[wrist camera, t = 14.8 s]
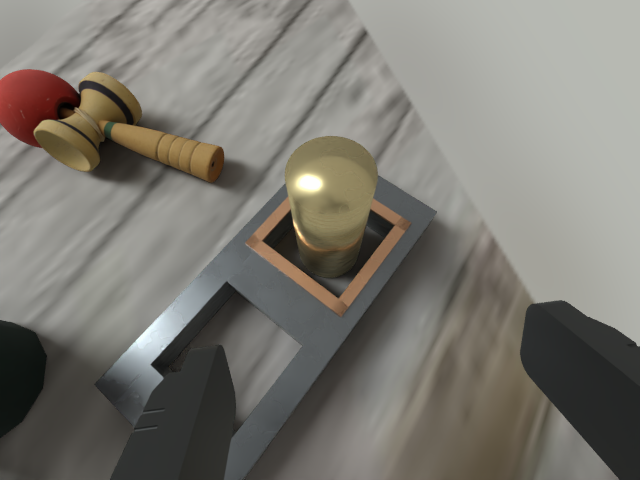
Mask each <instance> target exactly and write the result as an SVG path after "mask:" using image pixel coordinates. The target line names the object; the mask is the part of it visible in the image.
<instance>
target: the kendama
mask: <svg viewBox="0 0 640 480" xmlns="http://www.w3.org/2000/svg"><path fill="white" fill-rule="evenodd" d="M79 92H80V94H78V93H77V91H76V90H75V89H74V88H73V87H72V86H71V85H70V84H68V83H67V82H66V81H64V80H63V79H61V78H60V77H58V76H56V75H53V74H51V73H48V72H45V71H40V70H32V69H27V70H19V71H15V72H12V73H10V74H8V75H6V76H5V77H3V78H2V79H1V80H0V123H1V124H2V126H3V127H4V128H5V129H6V130H7V131H8V132H9V133H10V134H11V135H13V136H14V137H16V138H17V139H19V140H20V141H22V142H24V143H27V144H29V145H32V146H35V147H39V148H43V149H44V150H45V151H47V152H48V153H49V154H50V155H51V156H53V157H54V158H55V159H57V160H58V161H60V162H61V163H63V164H65V165H67V166H69V167H71V168H73V169H76V170H79V171H84V172H90V171H92V170H93V169H94V168H95V167H96V166H97V165H98V164H99V163H100V156H99V144H100V142H104V139H105V137H106V138H108V139H110V140H112V141H114V142H116V143H118V144H120V145H122V146H124V147H126V148H128V149H131V150H133V151H135V152H137V153H139V154H142V155H144V156H146V157H149V158H151V159H154V160H156V161H159V162H162V163H164V164H167V165H169V166H172V167H174V168H177V169H179V170H182V171H184V172H187V173H189V174H192V175H194V176H196V177H199V178H201V179H203V180H206V181H208V182H211V183H212V182H214V181H215V180H216V179H217V178H218V177H219V175H220V173H221V171H222V168H223V164H224V151H223V149H222V147H219V146H216V145H211V144H207V143H201V142H198V141H194V140H190V139H187V138H182V137H179V136H175V135H171V134H167V133H164V132H160V131H156V130H152V129H148V128H144V127H139V126H135V125H136V124H137V122H138V121H139V120H140V118H141V117H142V110H141V107H140V104H139V102H138V101H137V99H136V98H135V97H134V95H133V94H132V93H131V92H130V91H129V90H128V89H127V88H126V87H125V86H124V85H123V84H121V83H120V82H119V81H117V80H116V79H114V78H112V77H111V76H109V75H106V74H104V73H100V72H92V73H90V74H88V75H87V76H86V77H85V78H83V79H82V80H81V81H80V83H79Z"/></svg>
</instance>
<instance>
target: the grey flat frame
mask: <svg viewBox="0 0 640 480" xmlns="http://www.w3.org/2000/svg"><path fill="white" fill-rule="evenodd" d="M436 213H437V211H435V210H433V209H432V208H430V207H429V206H427V205H425V204H424V203H422V202H420V201H419V200H417V199H416V198H414V197H412V196H411V195H409V194H408V193H406V192H404V191H403V190H401V189H399V188H398V187H396V186H395V185H393V184H391V183H390V182H388V181H387V180H385V179H383V178H382V177H380V176H378V180H377V185H376V189H375V193H374V196H373V200H372V204H371V208H370V212H369V216H368V220H367V224H366V225H367V226H368V227H370V228H371V229H373V230H374V231H376V232H377V233H379V234H380V235H381V236H383V237H384V238H385V239H384V240H383V242H382V243H381V244H380V245H379V247H378V248H377V249H376V251H375V252H374V253H373V255H372V256H371V257H370V259H369V260H368V261H367V262H366V264H365V265H364V266H363V268H362V269H361V270H360V272H359V273H358V274H357V275H356V277H355V278H354V279H353V281H352V282H351V283H350V285H349V286H348V287H347V288H346V290H345V291H344V292H343V294H342V295H341V296H340V298H339V299H338V298H337V297H335V296H334V295H333V294H331V293H330V292H329V291H328V290H326V289H325V288H324V287H322V286H321V285H320V284H318V283H317V282H316V281H314V280H313V279H312V278H310V277H309V276H308V275H306V274H305V273H304V272H302V271H301V270H300V269H298V268H297V267H296V266H294V265H293V264H292V263H290V262H289V261H288V260H286V259H285V258H284V257H282V256H281V255H280V254H279V253H277V252H276V251H275V250H273V248H274V247H275V246H276V245H277V244H278V243H279V242H280V241H281V239H282V238H283V237H284V236H285V235H286V234H287V233H288V232H289V230H290V229H291V228H292V227H293V226H294V223H293V218H292V213H291V208H290V202H289V197H288V192H287V187H286V183H285V184H284V186H283V187H282V188H281V189H280V190H279V191H278V192H277V193H276V194H275V195H274V196H273V197H272V198H271V199H270V200H269V201H268V202H267V203H266V204H265V206H264V207H263V208H262V209H261V210H260V211H259V212H258V213H257V214H256V215H255V216H254V217H253V218H252V219H251V220H250V221H249V222H248V223H247V224H246V226H245V227H244V228H243V229H242V230H241V231H240V232H239V233H238V234H237V235H236V236H235V237H234V238H233V239H232V240H231V241H230V242H229V243H228V244H227V246H226V247H225V248H224V249H223V250H222V251H221V252H220V253H219V254H218V255H217V256H216V257H215V258H214V259H213V260H212V261H211V262H210V263H209V264H208V266H207V267H206V268H205V269H204V270H203V271H202V272H201V273H200V274H199V275H198V276H197V277H196V278H195V279H194V280H193V281H192V282H191V283H190V284H189V286H188V287H187V288H186V289H185V290H184V291H183V292H182V293H181V294H180V295H179V296H178V297H177V298H176V299H175V300H174V301H173V302H172V303H171V304H170V306H169V307H168V308H167V309H166V310H165V311H164V312H163V313H162V314H161V315H160V316H159V317H158V318H157V319H156V320H155V321H154V322H153V323H152V324H151V326H150V327H149V328H148V329H147V330H146V331H145V332H144V333H143V334H142V335H141V336H140V337H139V338H138V339H137V340H136V341H135V342H134V343H133V344H132V346H131V347H130V348H129V349H128V350H127V351H126V352H125V353H124V354H123V355H122V356H121V357H120V358H119V359H118V360H117V361H116V362H115V363H114V364H113V366H112V367H111V368H110V369H109V370H108V371H107V372H106V373H105V374H104V375H103V376H102V377H101V378H100V379H99V380H98V381H97V382H96V383H95V384H94V385H95V386H96V387H97V388H98V389H99V390H100V391H101V392H102V393H103V394H104V395H105V396H106V398H107V399H108V400H109V401H110V402H111V403H112V404H113V405H114V406H115V407H116V408H117V409H118V410H119V411H120V413H121V414H122V415H123V416H124V417H125V418H126V419H127V420H128V421H129V422H130V423H131V424H132V425H133V427H134V428H135V426H136V424H137V422H138V420H139V418H140V415H143V409H144V407H145V405H146V403H147V401H148V399H149V397H150V395H151V393H152V391H153V390H154V389H155V387H156V386H157V385H158V384H159V383H160V382H161V381H162V380H163V379H164V378H165V377H166V376H167V375H168V373H173V371H172V370H171V369H170V368H169V367H168V366H169V365H170V364H171V363H172V362H173V361H174V360H175V358H176V357H177V356H178V355H179V354H180V353H181V352H182V351H183V349H184V348H185V347H186V346H187V345H188V344H189V343H190V342H191V340H192V339H193V338H194V337H195V336H196V335H197V334H198V333H199V331H200V330H201V329H202V328H203V327H204V326H205V325H206V324H207V322H208V321H209V320H210V319H211V318H212V317H213V316H214V315H215V313H216V312H217V311H218V310H219V309H220V308H221V307H222V306H223V305H224V303H225V302H226V301H227V300H228V299H229V298H230V297H231V296H232V294H233V293H234V292H235V291H236V292H238V293H239V294H240V295H241V296H243V297H244V298H245V299H246V300H247V301H249V302H250V303H251V304H252V305H253V306H255V307H256V308H257V309H258V310H260V311H261V312H262V313H263V314H264V315H266V316H267V317H268V318H269V319H270V320H272V321H273V322H274V323H275V324H276V325H278V326H279V327H280V328H281V329H283V330H284V331H285V332H286V333H287V334H289V335H290V336H291V337H292V338H293V339H295V340H296V341H297V342H298V343H299V344H301V345H302V348H301V349H300V350H299V352H298V353H297V354H296V356H295V357H294V358H293V359H292V361H291V362H290V363H289V365H288V366H287V367H286V369H285V370H284V371H283V373H282V374H281V375H280V376H279V378H278V379H277V380H276V382H275V383H274V384H273V386H272V387H271V388H270V389H269V391H268V392H267V393H266V395H265V396H264V397H263V399H262V400H261V401H260V402H259V404H258V405H257V406H256V408H255V409H254V410H253V412H252V413H251V414H250V416H249V417H248V418H247V419H246V421H245V422H244V423H243V425H242V426H241V427H240V429H239V430H238V431H237V432H235V431H234V430H233V431H232V436H231V442H230V448H229V453H228V459H227V465H226V470H225V476H224V480H244V479H245V478H246V476H247V475H248V473H249V472H250V471H251V469H252V468H253V467H254V465H255V464H256V462H257V461H258V460H259V458H260V457H261V455H262V454H263V453H264V451H265V450H266V449H267V447H268V446H269V444H270V443H271V442H272V440H273V439H274V438H275V436H276V435H277V433H278V432H279V431H280V429H281V428H282V427H283V425H284V424H285V422H286V421H287V420H288V418H289V417H290V416H291V414H292V413H293V411H294V410H295V409H296V407H297V406H298V405H299V403H300V402H301V400H302V399H303V398H304V396H305V395H306V394H307V392H308V391H309V389H310V388H311V387H312V385H313V384H314V383H315V381H316V380H317V378H318V377H319V376H320V374H321V373H322V371H323V370H324V369H325V367H326V366H327V365H328V363H329V362H330V360H331V359H332V358H333V356H334V355H335V354H336V352H337V351H338V349H339V348H340V347H341V345H342V344H343V343H344V341H345V340H346V338H347V337H348V336H349V334H350V333H351V332H352V330H353V329H354V327H355V326H356V325H357V323H358V322H359V321H360V319H361V318H362V316H363V315H364V314H365V312H366V311H367V310H368V308H369V307H370V305H371V304H372V303H373V301H374V300H375V299H376V297H377V296H378V294H379V293H380V292H381V290H382V289H383V287H384V286H385V285H386V283H387V282H388V281H389V279H390V278H391V276H392V275H393V274H394V272H395V271H396V270H397V268H398V267H399V265H400V264H401V263H402V261H403V260H404V259H405V257H406V256H407V254H408V253H409V252H410V250H411V249H412V248H413V246H414V245H415V243H416V242H417V241H418V239H419V238H420V237H421V235H422V234H423V232H424V231H425V230H426V228H427V227H428V225H429V224H430V222H431V221H432V219H433V218H434V216H435V215H436Z"/></svg>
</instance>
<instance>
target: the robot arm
mask: <svg viewBox="0 0 640 480" xmlns="http://www.w3.org/2000/svg"><path fill="white" fill-rule="evenodd" d="M520 356H521V361H522V364H523V367H524V369H525V371H526V373H527V374H528V375H529V377H530V378H531V379H532V380H533V381H534V382H535V384H536V385H537V386H538V387H539V388H540V389H541V390H542V392H543V393H544V394H545V395H546V396H547V397H548V398H549V400H550V401H551V402H552V403H553V404H554V405H555V406H556V408H557V409H558V410H559V411H560V412H561V413H562V414H563V416H564V417H565V418H566V419H567V420H568V421H569V422H570V424H571V425H572V426H573V427H574V428H575V429H576V430H577V432H578V433H579V434H580V435H581V436H582V437H583V438H584V440H585V441H586V442H587V443H588V444H589V445H590V446H591V447H592V449H593V450H594V451H595V452H596V453H597V454H598V455H599V457H600V458H601V459H602V460H603V461H604V462H605V463H606V465H607V466H608V467H609V468H610V469H611V470H612V471H613V473H614V474H615V475H616V476H617V477H618V478H619V479H620V480H640V347H638V346H637V345H636V343H635V342H634V341H632V340H631V339H629V338H628V337H626V336H625V335H624V334H622V333H621V332H619V331H618V330H616V329H615V328H613V327H611V326H608V325H606V324H603V323H601V322H599V321H597V320H594V319H592V318H590V317H587V316H586V315H584V314H583V313H582V312H580V311H579V310H577V309H576V308H575V307H573V306H572V305H570V304H569V303H567V302H565V301H562V300H560V301H552V302H544V303H537V304H531V305H530V306H529V307H528V308H527V311H526V317H525V323H524V330H523V336H522V343H521V349H520ZM235 411H236V399H235V391H234V387H233V383H232V379H231V375H230V371H229V367H228V363H227V359H226V355H225V352H224V349H223V347H222V346H221V345H216V346H208V347H201V348H193V349H190V350H189V351H188V353H187V356H186V358H185V361H184V363H183V366H182V368H181V370H180V372H173V373H168V375H167V376H166V377H165V378H164V379H163V380H162V381H161V382H160V383H159V384H158V385H157V386H156V387H155V389H154V390H153V391H152V393H151V395H150V397H149V399H148V401H147V403H146V405H145V407H144V409H143V415H140V418H139V420H138V422H137V424H136V426H135V428H134V429H135V431H134V433H132V434H131V436H130V438H129V441H128V443H127V445H126V447H125V449H124V451H123V453H122V455H121V457H120V459H119V461H118V463H117V466H116V468H115V470H114V472H113V474H112V476H111V478H110V480H224V476H225V470H226V465H227V459H228V453H229V448H230V442H231V436H232V431H233V425H234V419H235Z"/></svg>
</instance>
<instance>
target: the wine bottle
mask: <svg viewBox="0 0 640 480" xmlns="http://www.w3.org/2000/svg"><path fill="white" fill-rule="evenodd" d="M46 357H47V355H46V353H45V351H44V349H43V347H42V345H41V343H40V341H39V339H38V337H37V335H36V333H35V332H33V331H31V330H28V329H26V328H24V327H21V326H19V325H16V324H14V323H12V322H7V321H2V320H0V438H1V437H2V436H3V435H5V434H6V433H7V432H9V431H10V430H11V429H13V428H14V427H15V426H17V425H18V424H20V423H21V422H22V421H23V419H24V418H25V416H26V414H27V413H28V411H29V410H30V408H31V406H32V405H33V403H34V401H35V400H36V398H37V397H38V395H39V393H40V392H41V390H42V388H43V381H44V373H45V365H46Z"/></svg>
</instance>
